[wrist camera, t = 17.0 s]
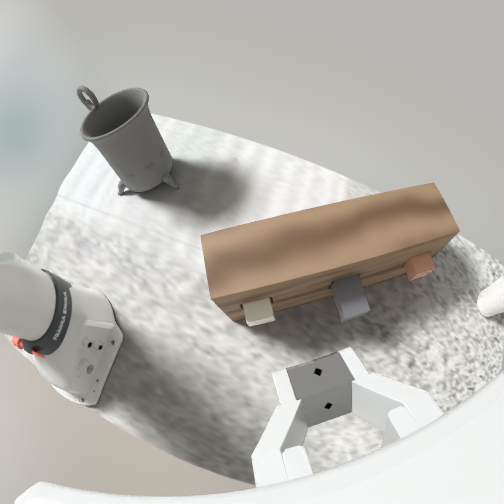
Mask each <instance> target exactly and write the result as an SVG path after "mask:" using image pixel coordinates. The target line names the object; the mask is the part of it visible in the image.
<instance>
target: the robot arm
mask: <svg viewBox="0 0 504 504" xmlns="http://www.w3.org/2000/svg"><path fill="white" fill-rule="evenodd" d="M0 333H3V334H7V335H11V336H13V338H12V343H13V344H14V345H15V346H17V347H18V348H19V349H23V348H24V350H25V351H27V352H28V353H30V354H33V356H34V359H35V363H36V367H37V369H38V371H39V373H40V374H41V375H42V376H43V377H44V378H45V379H46V380H47V381H48V382H50V384H51V385H52V386H53V387H54V388H55V390H57V392H59V393H60V394H61V395H62V396H64V397H65V398H67V399H69V400H70V401H72V402H75V403H77V404H81V405H95V404H96V403H97V402H98V399H99V397H100V394H101V391H102V389H103V386H104V384H105V381H106V379H107V376H108V374H109V371H110V369H111V367H112V364H113V362H114V359H115V357H116V355H117V352H118V350H119V348H120V345H121V343H122V341H123V334H122V332H121V330H120V328H119V327H118V325H117V324H116V322H115V319H114V314H113V310H112V307H111V305H110V303H109V301H108V299H107V298H106V297H105V296H104V295H103V294H102V293H101V292H99V291H98V290H95V289H89V288H80V287H77V286H73V285H71V284H70V283H68V282H67V281H66V280H65V279H63V278H61V277H60V276H58V275H56V274H54V273H52V272H50V271H46V270H43V269H38V268H37V267H35V266H33V265H32V264H30V263H28V262H27V261H25V260H23V259H21V258H20V257H18V256H17V255H15V254H13V253H9V252H8V253H7V252H6V253H2V254H0ZM113 341H115V343H114V345H113ZM272 375H273V379H274V383H275V386H276V390H277V393H278V397H279V401H280V404H281V405H279V406H276V409H275V411H274V413H273V415H272V417H271V419H270V421H269V423H268V425H267V427H266V429H265V431H264V433H263V435H262V436H261V438H260V440H259V442H258V444H257V446H256V448H255V450H254V452H253V453H252V455H251V458H252V465H253V471H254V477H255V483H256V488H251V489H245V490H238V491H231V492H224V493H216V494H205V495H189V496H134V495H121V494H110V493H102V492H94V491H88V490H82V489H76V488H71V487H66V486H61V485H57V484H53V483H49V482H38V483H36V484H35V485H33V486H32V487H30V488H29V489H28V490H27V491H26V492H24V493H23V494H22V495H21V496H19V497H18V498H17V499H16V500H15V502H14V504H504V370H503V371H502V372H501V373H499V374H498V375H497V376H496V377H495V378H493V379H492V380H491V381H490V382H488V383H487V384H486V385H485V386H483V387H482V388H481V389H479V390H478V391H477V392H476V393H474V394H473V395H471V396H470V397H469V398H467V399H466V400H464V401H463V402H462V403H460V404H459V405H457V406H456V407H454V408H453V409H451V410H450V411H448V412H447V413H445V414H444V413H443V412H442V411H441V409H440V408H439V407H438V405H437V404H436V403H435V402H434V400H433V399H432V398H431V396H430V395H429V394H428V393H427V391H424V390H421V389H418V388H415V387H412V386H409V385H406V384H403V383H401V382H398V381H395V380H392V379H389V378H387V377H384V376H381V375H378V374H376V373H371V374H369V372H368V371H367V369H366V368H365V366H364V365H363V363H362V362H361V360H360V359H359V357H358V356H357V354H356V353H355V352H354V350H353V349H352V348H351V347H348V348H346V349H343V350H340V351H338V352H335V353H332V354H330V355H327V356H324V357H321V358H318V359H315V360H312V361H310V362H306V363H303V364H299V365H296V366H292V367H289V368H286V369H283V370H279V371H275V372H272ZM83 398H84V401H83ZM351 412H352V413H353V414H354V415H356V416H358V417H359V418H361V419H363V420H365V421H366V422H368V423H370V424H372V425H373V426H375V427H377V428H379V429H380V430H382V431H384V436H383V441H382V445H381V448H380V449H378V450H376V451H373V452H371V453H369V454H366V455H364V456H362V457H359V458H357V459H354V460H352V461H349V462H346V463H344V464H341V465H338V466H335V467H332V468H329V469H326V470H323V471H320V472H317V473H314V474H313V472H312V469H311V466H310V463H309V460H308V457H307V454H306V451H305V448H304V447H302V446H303V443H304V440H305V437H306V434H307V431H308V427H311V426H314V425H317V424H319V423H322V422H325V421H328V420H330V419H333V418H336V417H339V416H342V415H345V414H348V413H351Z"/></svg>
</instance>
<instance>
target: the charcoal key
mask: <svg viewBox="0 0 504 504" xmlns="http://www.w3.org/2000/svg"><path fill="white" fill-rule="evenodd" d="M330 288H331V291H332V294H333V297H334V301H335V304H336V307H337V311H338V314H339V318H340V321H341V322H344V321H347V320H350V319H354V318H357V317H360V316H363V315H365V314H366V313H368V312H369V311H370V307H369V304H368V301H367V298H366V295H365V292H364V289H363V286H362V283H361V280H360V277H359V274H356V275H353V276H349V277H346V278H342V279H339V280H335V281H332V282H331V284H330Z"/></svg>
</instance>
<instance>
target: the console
mask: <svg viewBox="0 0 504 504" xmlns="http://www.w3.org/2000/svg"><path fill="white" fill-rule="evenodd" d="M458 232H459V228H458V226H457V224H456V222H455V220H454V218H453V216H452V214H451V212H450V210H449V208H448V206H447V205H446V203H445V201H444V199H443V197H442V195H441V194H440V192H439V190H438V188H437V187H436V185H435V183H430V184H424V185H419V186H414V187H409V188H404V189H399V190H394V191H389V192H384V193H379V194H374V195H369V196H365V197H360V198H355V199H351V200H346V201H342V202H337V203H333V204H328V205H324V206H319V207H315V208H310V209H306V210H302V211H297V212H293V213H289V214H285V215H280V216H276V217H272V218H268V219H264V220H260V221H255V222H251V223H247V224H243V225H239V226H235V227H231V228H227V229H223V230H219V231H215V232H212V233H208V234H204V235H201V242H202V248H203V255H204V261H205V267H206V273H207V280H208V285H209V291H210V297H211V300H212V301H213V302H214V303H215V304H216V305H217V306H218V307H219V308H220V309H221V310H222V311H223V312H224V313H225V314H226V315H227V316H228V317H229V318H230V319H231V320H232V321H237V320H241V319H245V314H244V309H243V305H242V304H245V303H249V302H254V301H258V300H262V299H266V298H270V302H271V306H272V310H273V312H275V311H279V310H283V309H287V308H291V307H294V306H298V305H302V304H306V303H310V302H313V301H317V300H321V299H324V298H328V297H331V296H333V294H332V291H331V288H330V284H331V282H332V281H335V280H339V279H342V278H346V277H349V276H353V275H356V274H359V277H360V280H361V283H362V286H363V287H365V286H369V285H372V284H375V283H378V282H381V281H385V280H388V279H391V278H394V277H397V276H400V275H403V274H406V271H405V268H404V266H403V265H404V264H405V263H406V262H407V261H408V260H409V259H410V258H412V257H415V256H418V255H421V254H424V253H427V252H430V255H431V257H432V258H433V257H434V256H435V255H436V254H437V253H438V252H439V251H440V250H441V249H442V248H443V247H444V246H445V245H446V244H447V243H448V242H449V241H450V240H451V239H452V238H453V237H454V236H455V235H456V234H457V233H458Z"/></svg>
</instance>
